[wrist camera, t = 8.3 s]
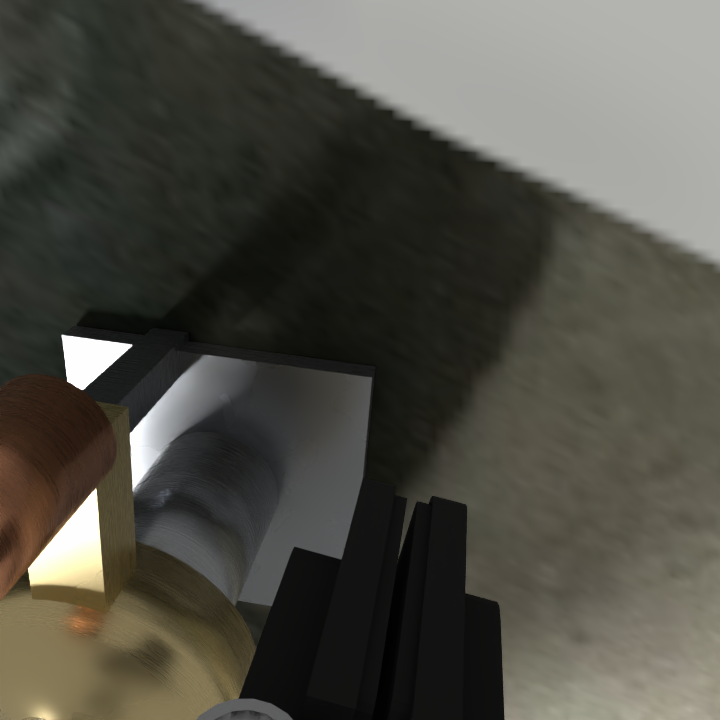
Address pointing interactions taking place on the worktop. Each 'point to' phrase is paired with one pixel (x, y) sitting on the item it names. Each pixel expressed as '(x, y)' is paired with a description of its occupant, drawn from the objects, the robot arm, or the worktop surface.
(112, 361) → the grey crank stand
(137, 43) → the worktop surface
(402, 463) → the worktop surface
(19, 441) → the crank with handle
